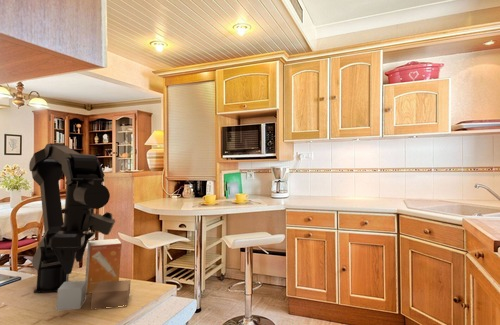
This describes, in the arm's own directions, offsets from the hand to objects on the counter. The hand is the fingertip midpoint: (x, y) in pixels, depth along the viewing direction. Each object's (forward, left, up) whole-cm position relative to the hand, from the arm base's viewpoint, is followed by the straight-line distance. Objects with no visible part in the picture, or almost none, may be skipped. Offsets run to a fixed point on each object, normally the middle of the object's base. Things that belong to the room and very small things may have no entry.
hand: (74, 267), depth 73 cm
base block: (+9, 0, -9) cm, 13 cm away
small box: (+5, +10, -9) cm, 15 cm away
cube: (0, 0, -9) cm, 9 cm away
